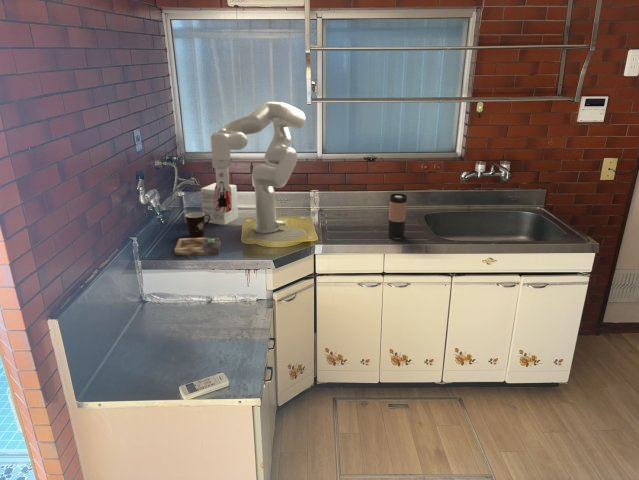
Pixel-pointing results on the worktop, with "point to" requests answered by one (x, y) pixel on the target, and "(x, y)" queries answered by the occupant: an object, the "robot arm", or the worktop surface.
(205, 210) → the supplement box
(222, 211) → the soda can
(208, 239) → the button
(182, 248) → the wooden tray
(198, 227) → the coffee mug
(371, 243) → the worktop surface
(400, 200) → the travel mug
